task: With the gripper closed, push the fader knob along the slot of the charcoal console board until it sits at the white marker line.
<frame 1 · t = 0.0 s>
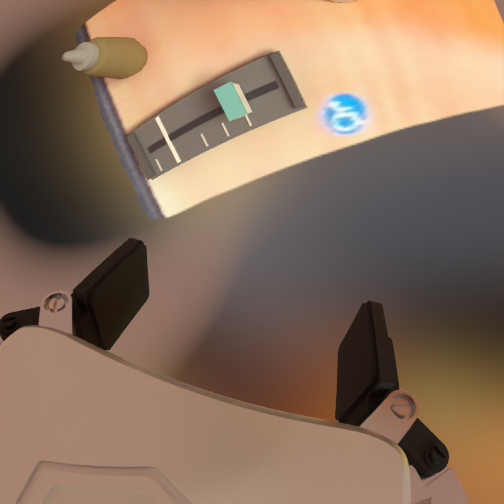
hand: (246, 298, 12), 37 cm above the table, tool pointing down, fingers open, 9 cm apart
console board: (210, 116, 43), on the table
fader knob: (234, 101, 37), point 5 cm above the table, slide at 0.0 cm
squeeze bottle: (135, 59, 40), on the table
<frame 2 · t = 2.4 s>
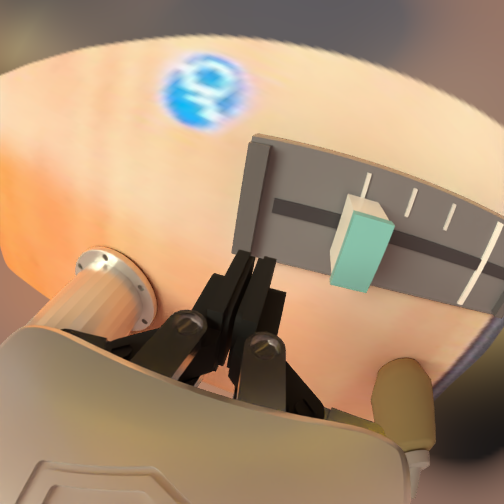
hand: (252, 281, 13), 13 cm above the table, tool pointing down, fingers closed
console board: (410, 233, 23), on the table
fader knob: (357, 240, 19), point 5 cm above the table, slide at 0.0 cm
squeeze bottle: (398, 369, 31), on the table
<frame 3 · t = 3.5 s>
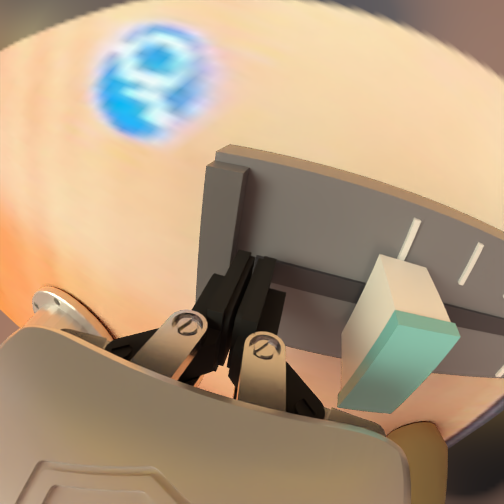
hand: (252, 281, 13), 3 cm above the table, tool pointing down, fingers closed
console board: (455, 296, 14), on the table
fader knob: (388, 336, 11), point 5 cm above the table, slide at 0.0 cm
squeeze bottle: (410, 430, 23), on the table
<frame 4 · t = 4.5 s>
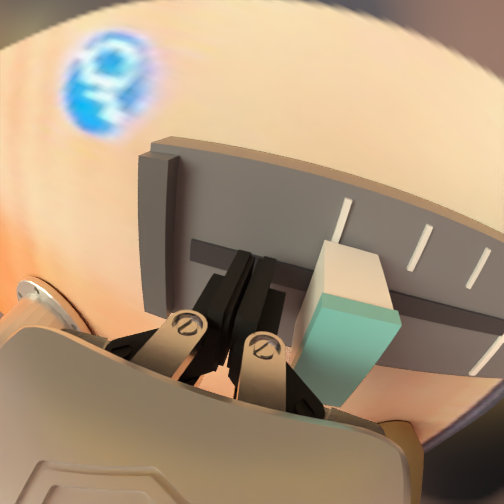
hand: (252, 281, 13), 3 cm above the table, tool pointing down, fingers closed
console board: (414, 286, 15), on the table
fader knob: (334, 325, 11), point 5 cm above the table, slide at 0.7 cm, touching gripper
squeeze bottle: (385, 429, 23), on the table
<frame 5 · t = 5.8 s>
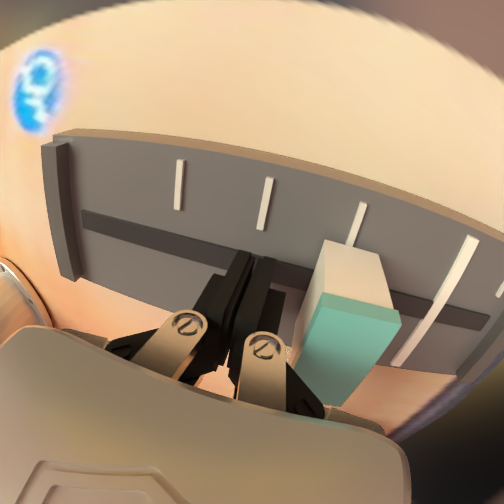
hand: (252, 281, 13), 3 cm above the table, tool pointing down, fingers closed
console board: (296, 254, 15), on the table
fader knob: (334, 324, 11), point 5 cm above the table, slide at 8.1 cm, touching gripper
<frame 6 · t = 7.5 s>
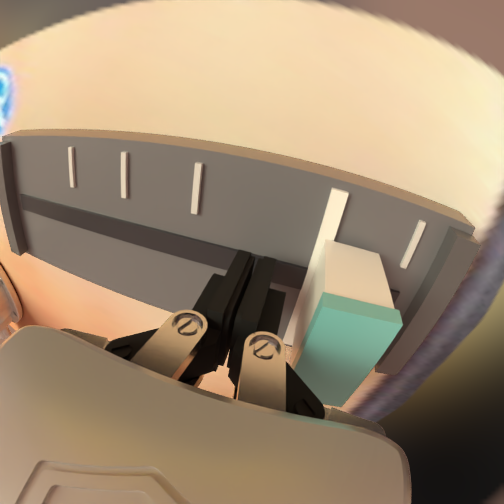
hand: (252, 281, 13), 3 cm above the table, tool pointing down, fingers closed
console board: (174, 223, 16), on the table
fader knob: (335, 324, 11), point 5 cm above the table, slide at 15.2 cm, touching gripper
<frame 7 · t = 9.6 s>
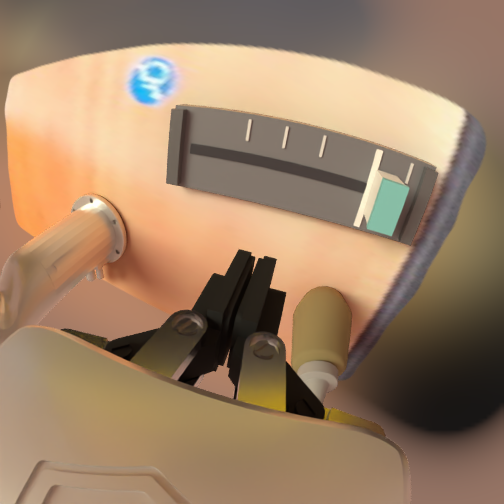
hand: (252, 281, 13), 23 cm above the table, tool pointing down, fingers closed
console board: (299, 165, 31), on the table
fader knob: (384, 200, 26), point 5 cm above the table, slide at 15.4 cm
squeeze bottle: (323, 300, 40), on the table
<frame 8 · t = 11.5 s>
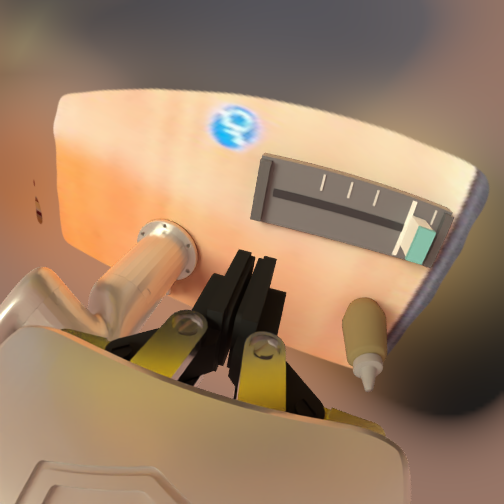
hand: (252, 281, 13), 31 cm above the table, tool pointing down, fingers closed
console board: (355, 209, 41), on the table
fader knob: (416, 239, 36), point 5 cm above the table, slide at 15.4 cm
squeeze bottle: (362, 308, 50), on the table
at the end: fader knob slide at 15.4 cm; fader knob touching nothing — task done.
